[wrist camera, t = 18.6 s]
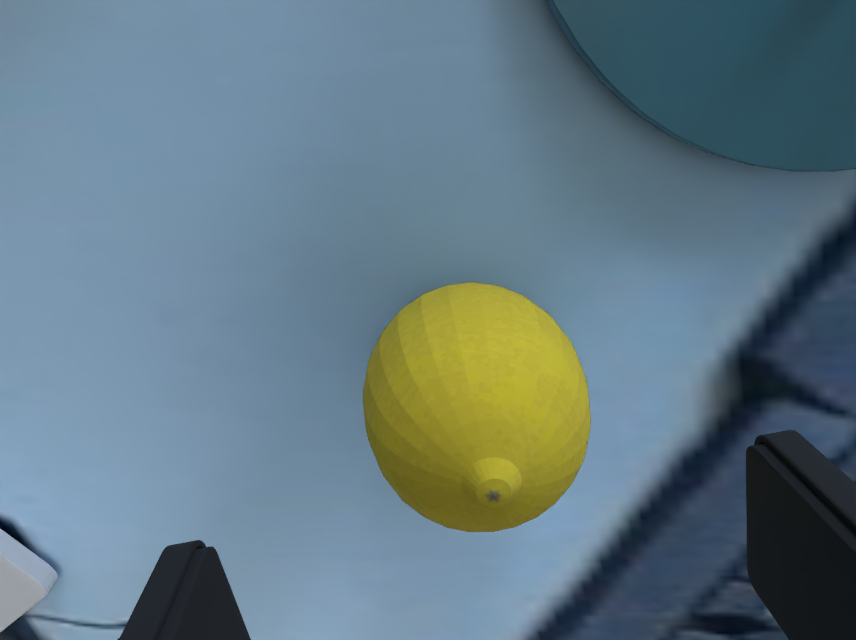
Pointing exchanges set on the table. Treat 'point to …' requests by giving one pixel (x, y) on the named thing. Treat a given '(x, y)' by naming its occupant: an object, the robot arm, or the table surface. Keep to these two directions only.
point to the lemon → (476, 407)
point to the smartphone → (21, 579)
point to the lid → (730, 73)
